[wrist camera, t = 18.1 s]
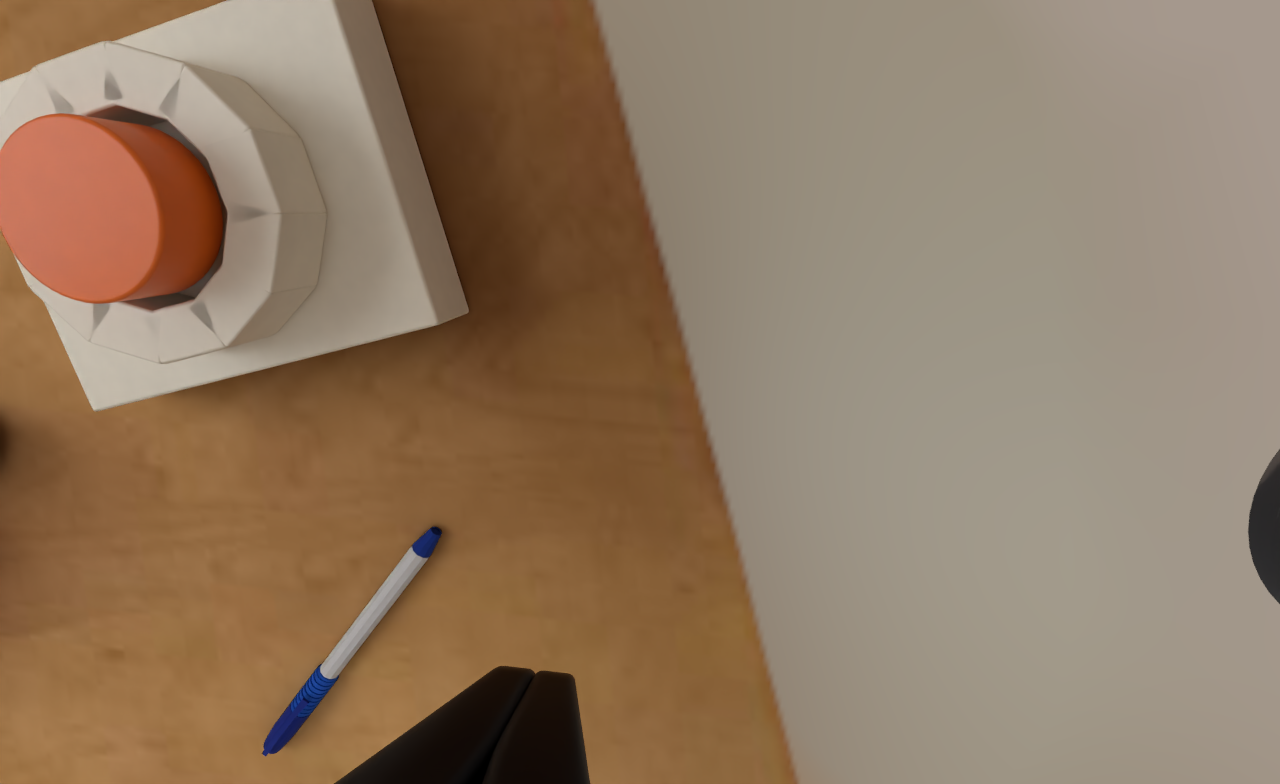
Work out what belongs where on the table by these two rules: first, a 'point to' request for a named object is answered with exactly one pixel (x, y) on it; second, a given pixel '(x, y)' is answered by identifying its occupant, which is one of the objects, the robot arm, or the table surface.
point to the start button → (107, 208)
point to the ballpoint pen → (350, 643)
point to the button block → (258, 193)
